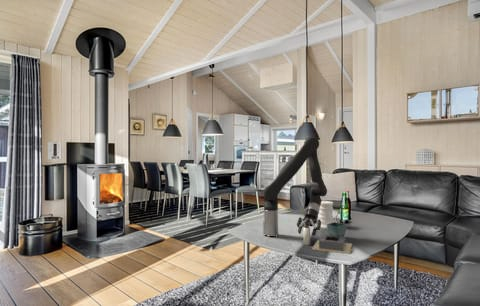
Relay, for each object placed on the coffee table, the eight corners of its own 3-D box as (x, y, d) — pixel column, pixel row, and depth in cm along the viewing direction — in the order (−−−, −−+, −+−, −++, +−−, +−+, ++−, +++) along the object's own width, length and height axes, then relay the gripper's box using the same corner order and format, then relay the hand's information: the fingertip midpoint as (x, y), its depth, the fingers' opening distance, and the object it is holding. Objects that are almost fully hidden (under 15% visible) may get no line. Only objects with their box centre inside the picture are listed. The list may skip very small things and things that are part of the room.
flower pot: (338, 241, 184) (338, 226, 184) (326, 238, 192) (326, 224, 192) (347, 238, 190) (346, 224, 190) (335, 235, 197) (334, 222, 197)
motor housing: (312, 249, 169) (312, 240, 169) (317, 241, 184) (317, 233, 184) (349, 253, 161) (349, 244, 161) (352, 245, 176) (351, 236, 176)
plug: (302, 244, 179) (302, 219, 179) (304, 242, 182) (303, 218, 182) (309, 245, 177) (309, 220, 177) (310, 243, 181) (310, 218, 181)
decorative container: (337, 227, 218) (337, 202, 218) (324, 229, 214) (324, 204, 214) (327, 224, 229) (327, 200, 229) (314, 225, 225) (314, 201, 225)
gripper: (300, 207, 190) (293, 229, 180) (322, 209, 182) (315, 232, 172) (303, 214, 194) (296, 235, 185) (325, 216, 186) (319, 239, 177)
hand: (306, 234), depth 179 cm, fingers open, 8 cm apart
